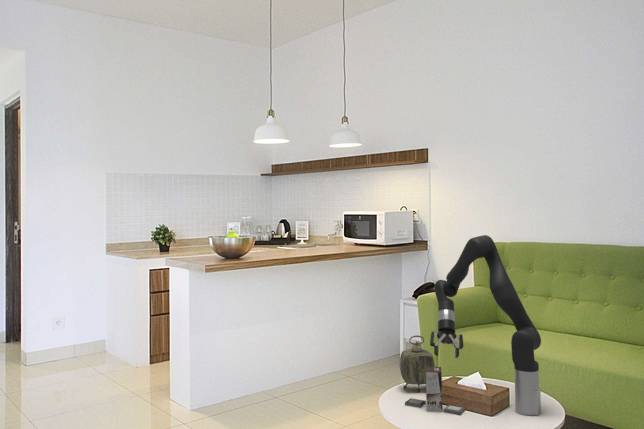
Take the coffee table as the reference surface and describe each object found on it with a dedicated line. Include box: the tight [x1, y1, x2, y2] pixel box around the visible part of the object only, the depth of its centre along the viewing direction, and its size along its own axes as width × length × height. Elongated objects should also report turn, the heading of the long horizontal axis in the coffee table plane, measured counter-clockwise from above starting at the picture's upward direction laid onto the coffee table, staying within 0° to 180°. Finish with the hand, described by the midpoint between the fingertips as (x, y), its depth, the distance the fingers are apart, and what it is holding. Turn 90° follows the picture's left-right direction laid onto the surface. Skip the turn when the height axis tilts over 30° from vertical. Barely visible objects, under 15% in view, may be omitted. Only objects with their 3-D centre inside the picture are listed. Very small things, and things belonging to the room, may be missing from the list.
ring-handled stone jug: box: [399, 335, 436, 393], centre depth 253 cm, size 14×9×25 cm, turn 94°
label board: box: [404, 397, 466, 416], centre depth 230 cm, size 24×6×1 cm, turn 57°
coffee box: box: [425, 366, 443, 413], centre depth 230 cm, size 9×6×16 cm
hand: (446, 356), depth 241 cm, fingers open, 8 cm apart
